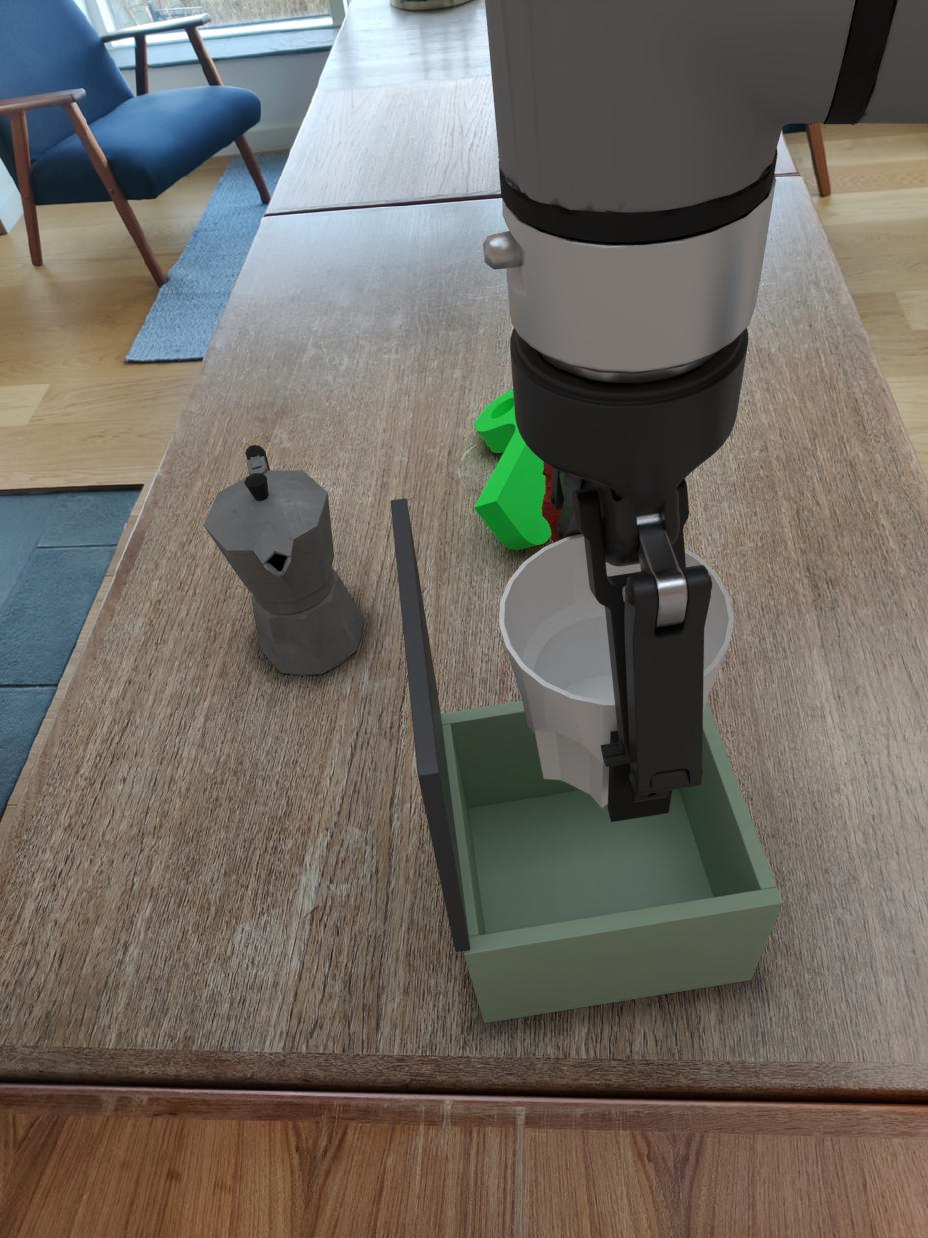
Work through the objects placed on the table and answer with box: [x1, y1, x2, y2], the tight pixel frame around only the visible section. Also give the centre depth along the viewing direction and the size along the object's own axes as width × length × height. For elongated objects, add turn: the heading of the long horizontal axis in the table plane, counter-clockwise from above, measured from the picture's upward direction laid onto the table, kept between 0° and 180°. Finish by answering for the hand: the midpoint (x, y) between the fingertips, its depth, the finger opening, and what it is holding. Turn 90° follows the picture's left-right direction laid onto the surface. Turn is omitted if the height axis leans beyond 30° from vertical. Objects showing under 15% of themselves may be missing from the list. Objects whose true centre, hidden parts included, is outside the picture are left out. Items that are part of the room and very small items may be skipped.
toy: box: [541, 462, 562, 544], centre depth 73 cm, size 2×5×15 cm, turn 159°
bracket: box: [473, 388, 552, 551], centre depth 86 cm, size 20×10×7 cm
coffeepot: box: [203, 444, 365, 677], centre depth 71 cm, size 15×9×18 cm, turn 16°
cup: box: [498, 534, 735, 808], centre depth 42 cm, size 10×10×10 cm
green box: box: [441, 699, 784, 1024], centre depth 55 cm, size 17×15×12 cm
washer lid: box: [389, 497, 471, 953], centre depth 44 cm, size 18×15×1 cm
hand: (611, 715), depth 45 cm, fingers closed on cup, 10 cm apart
